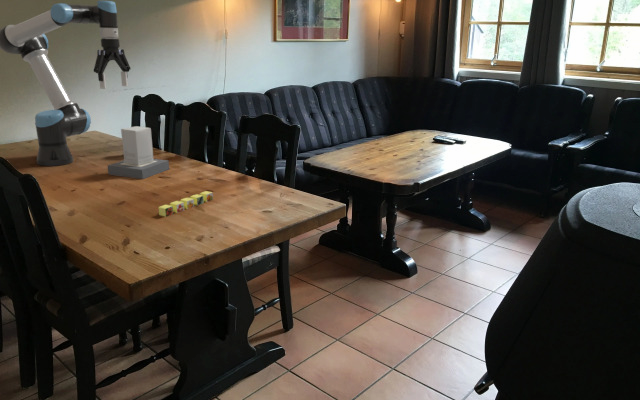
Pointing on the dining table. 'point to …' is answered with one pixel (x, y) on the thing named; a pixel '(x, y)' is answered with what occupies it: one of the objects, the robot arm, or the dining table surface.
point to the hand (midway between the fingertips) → (114, 87)
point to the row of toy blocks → (185, 203)
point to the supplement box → (137, 145)
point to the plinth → (138, 169)
